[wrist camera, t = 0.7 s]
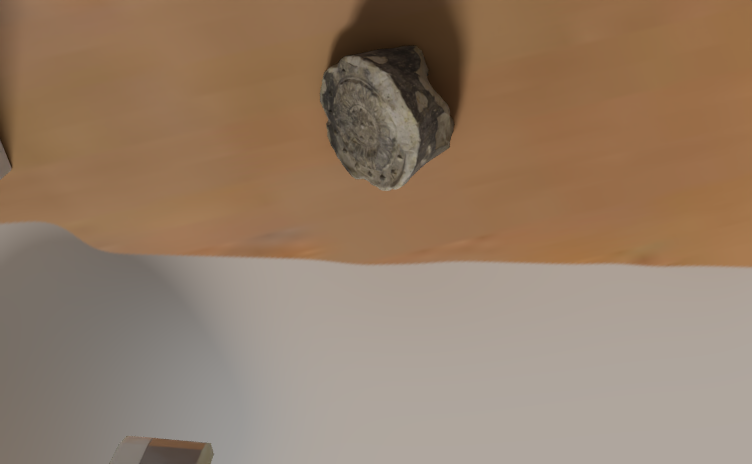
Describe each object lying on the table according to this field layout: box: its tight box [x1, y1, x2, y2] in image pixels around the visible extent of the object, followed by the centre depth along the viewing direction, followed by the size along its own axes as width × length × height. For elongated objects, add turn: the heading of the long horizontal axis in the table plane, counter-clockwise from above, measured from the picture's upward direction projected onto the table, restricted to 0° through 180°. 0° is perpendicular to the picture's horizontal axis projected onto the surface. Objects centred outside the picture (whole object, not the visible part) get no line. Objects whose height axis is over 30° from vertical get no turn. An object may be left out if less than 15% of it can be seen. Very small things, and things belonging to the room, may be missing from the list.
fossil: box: [320, 46, 454, 191], centre depth 46 cm, size 11×9×10 cm
